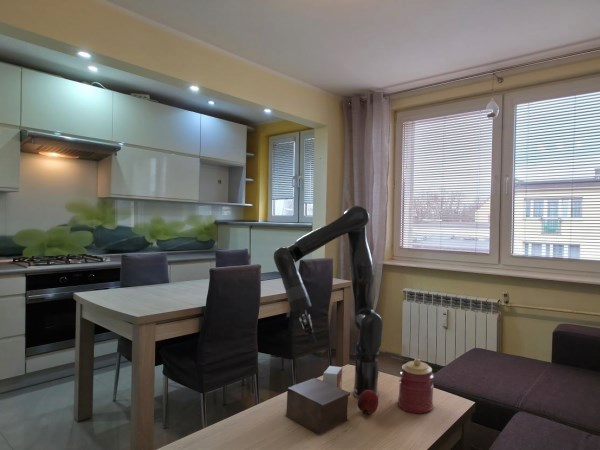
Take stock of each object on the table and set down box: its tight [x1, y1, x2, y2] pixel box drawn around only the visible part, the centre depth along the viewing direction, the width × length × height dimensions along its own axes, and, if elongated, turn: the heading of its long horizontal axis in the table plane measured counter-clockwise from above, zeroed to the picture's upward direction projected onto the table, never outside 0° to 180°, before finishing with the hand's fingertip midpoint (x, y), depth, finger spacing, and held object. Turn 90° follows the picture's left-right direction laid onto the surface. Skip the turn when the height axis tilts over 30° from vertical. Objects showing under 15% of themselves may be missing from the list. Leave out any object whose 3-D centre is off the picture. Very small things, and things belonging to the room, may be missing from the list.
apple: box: [356, 390, 379, 415], centre depth 136 cm, size 7×8×8 cm
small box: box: [322, 365, 343, 389], centre depth 147 cm, size 8×6×10 cm
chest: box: [285, 390, 349, 435], centre depth 130 cm, size 17×13×9 cm
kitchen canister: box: [397, 358, 435, 414], centre depth 143 cm, size 13×13×18 cm
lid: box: [287, 377, 351, 407], centre depth 130 cm, size 18×13×1 cm
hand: (313, 343), depth 138 cm, fingers closed
